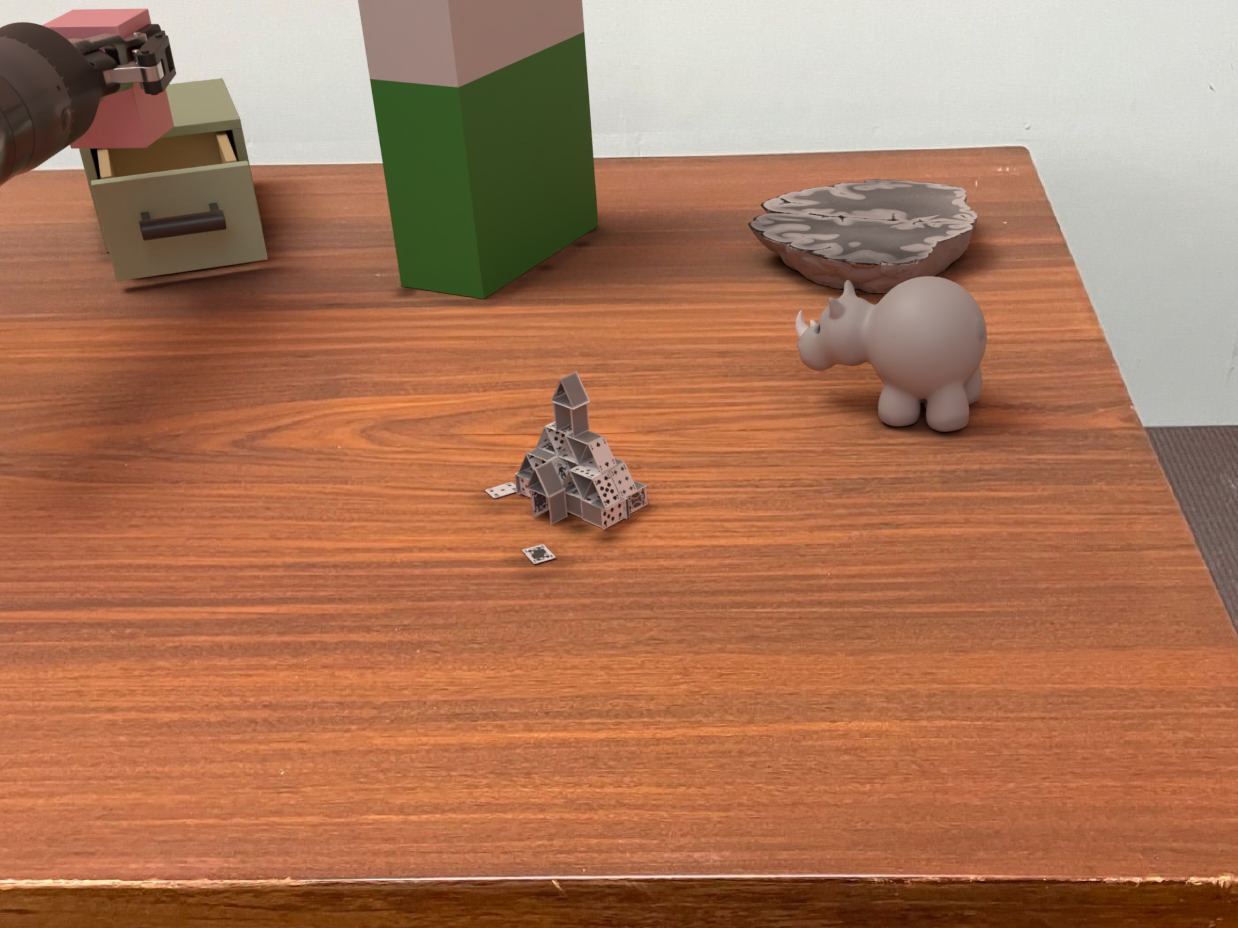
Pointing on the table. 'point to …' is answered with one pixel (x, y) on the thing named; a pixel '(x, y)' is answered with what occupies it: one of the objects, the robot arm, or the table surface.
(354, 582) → the table surface
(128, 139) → the block
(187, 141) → the drawer
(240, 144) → the cabinet
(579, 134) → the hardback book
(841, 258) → the brain slice
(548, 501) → the house of cards
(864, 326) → the chubby cartoon animal
